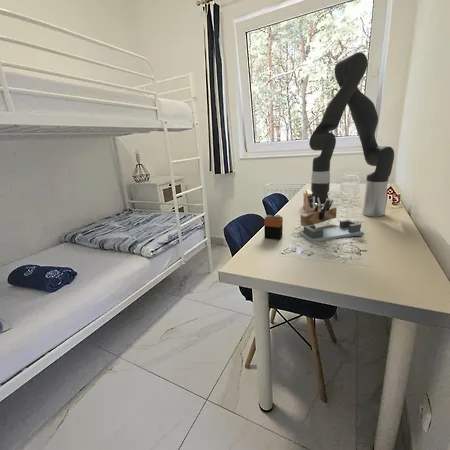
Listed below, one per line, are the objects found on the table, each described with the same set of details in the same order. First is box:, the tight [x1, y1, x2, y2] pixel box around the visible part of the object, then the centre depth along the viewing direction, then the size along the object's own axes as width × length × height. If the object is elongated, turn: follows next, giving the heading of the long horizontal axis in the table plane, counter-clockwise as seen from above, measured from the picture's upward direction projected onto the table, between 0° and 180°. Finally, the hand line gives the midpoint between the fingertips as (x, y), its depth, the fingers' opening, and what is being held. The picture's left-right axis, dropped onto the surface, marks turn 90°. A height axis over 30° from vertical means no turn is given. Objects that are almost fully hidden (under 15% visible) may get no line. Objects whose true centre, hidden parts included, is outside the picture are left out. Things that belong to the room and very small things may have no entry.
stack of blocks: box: [303, 188, 320, 213], centre depth 140 cm, size 21×6×12 cm, turn 169°
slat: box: [300, 205, 337, 227], centre depth 115 cm, size 18×3×5 cm, turn 113°
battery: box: [263, 214, 284, 241], centre depth 106 cm, size 4×7×10 cm, turn 62°
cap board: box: [300, 219, 364, 243], centre depth 107 cm, size 24×9×4 cm, turn 103°
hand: (318, 218), depth 116 cm, fingers closed on slat, 3 cm apart
